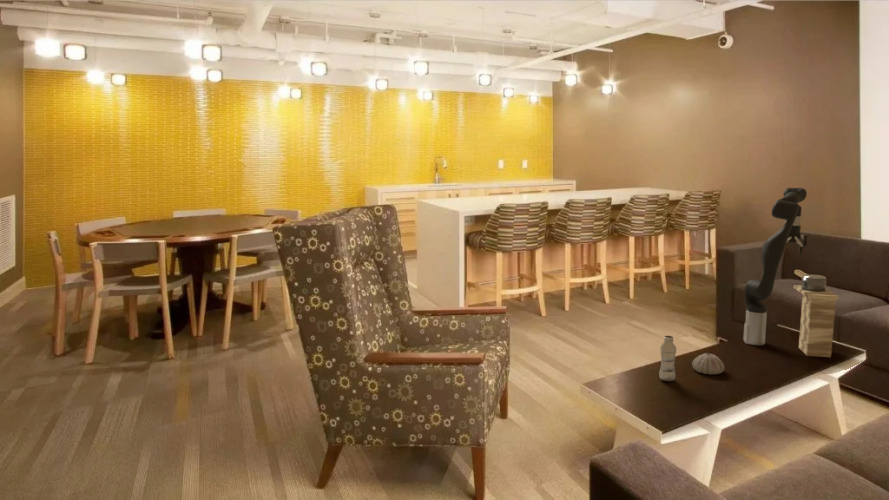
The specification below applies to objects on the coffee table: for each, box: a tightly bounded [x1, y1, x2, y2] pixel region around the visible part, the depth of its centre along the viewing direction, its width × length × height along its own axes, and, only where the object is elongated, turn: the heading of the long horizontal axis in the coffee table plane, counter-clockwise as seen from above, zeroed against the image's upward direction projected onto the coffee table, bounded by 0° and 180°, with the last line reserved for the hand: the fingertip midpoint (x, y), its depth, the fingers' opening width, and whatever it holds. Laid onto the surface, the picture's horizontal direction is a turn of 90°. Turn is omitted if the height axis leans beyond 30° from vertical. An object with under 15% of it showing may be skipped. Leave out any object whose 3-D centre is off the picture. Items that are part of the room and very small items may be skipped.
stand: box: [793, 284, 839, 358], centre depth 269 cm, size 22×12×30 cm, turn 164°
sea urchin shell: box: [691, 352, 725, 376], centre depth 248 cm, size 13×14×8 cm
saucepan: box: [793, 269, 827, 292], centre depth 278 cm, size 29×10×7 cm, turn 164°
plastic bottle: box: [658, 335, 677, 382], centre depth 238 cm, size 6×7×20 cm
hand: (790, 253), depth 302 cm, fingers open, 8 cm apart
